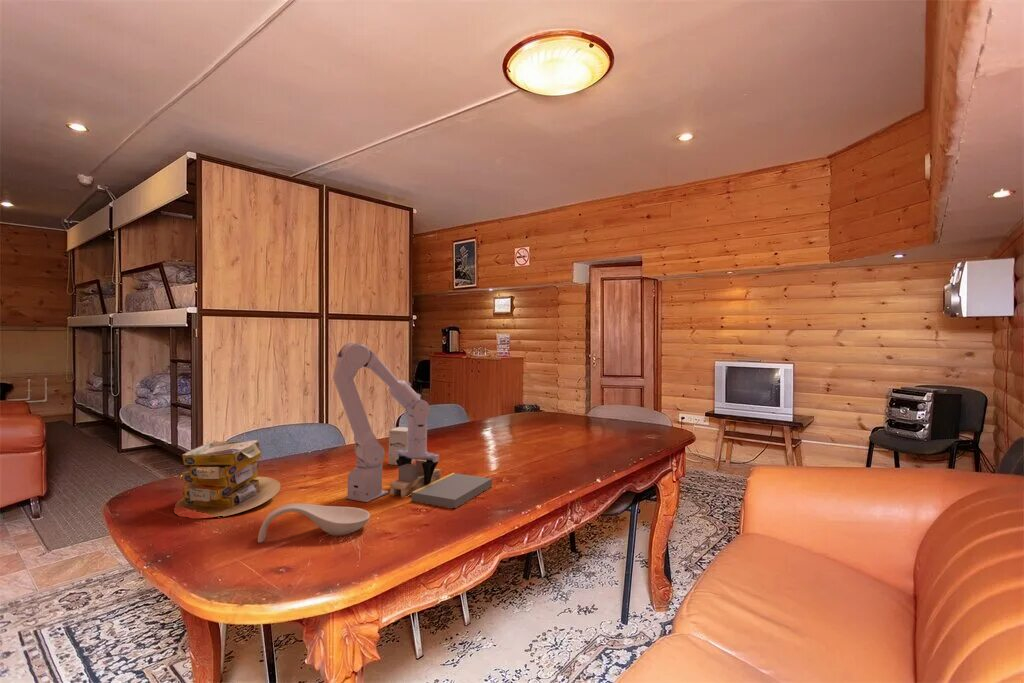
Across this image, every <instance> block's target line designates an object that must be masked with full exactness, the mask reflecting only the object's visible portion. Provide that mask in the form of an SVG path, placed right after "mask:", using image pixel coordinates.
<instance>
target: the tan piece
mask: <svg viewBox="0 0 1024 683" xmlns="http://www.w3.org/2000/svg"><path fill="white" fill-rule="evenodd" d="M441 478H442V469H440V468H435V469H434V472H433V475H432V478H431V482H430V483H432V482H434V481H436V480H439V479H441ZM424 486H425V485H424V474H418V479H416V480H414V481H411V482H406V481H399V479H397V480H395V481H392V482H390V483H389V487H390V488H389V496H390V495H393V496H392V497H395V496H397V495H399V494H398V493H400V492H401V493H400V498H401V497H406V496H408V495H410V494H411V492H413V491H415V490H417V489H419V488H422V487H424ZM396 494H397V495H396ZM394 495H395V496H394ZM410 496H411V495H410ZM408 497H409V496H408ZM406 498H407V497H406Z"/></svg>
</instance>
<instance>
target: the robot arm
mask: <svg viewBox="0 0 1024 683" xmlns="http://www.w3.org/2000/svg"><path fill="white" fill-rule="evenodd" d="M362 368H366V369H369V370H371V371H372V372H373V373H374V374H375V375H376V376H377V377H378V378H379V379H380V380H382V381H383V382H384V383H385V385H387V386H388V387H389V394H390V396H392V398H393V399H394V400H395V401H396V402H398V404H399V405H401V406H402V408H403V409H404V412H405V413H406V414H407V415H408V416H407V419H408V420H407V428H408V450H398V451H396V457H399V458H398V459H397V460H396V463H397V464H398V465H397V466H398V467H399V466H402V465H405V464H411V461H412V459H415V460H426V462H424V463H422V466H423V471H424V485H425V486H426V485H428V484H430V482H431V478H432V475H433V472H434V469H436V467H437V465H438V463H439V461H440V454H436V453H432V452H429V451H428V448H427V445H428V444H427V443H428V417H429V416H430V414H431V408H430V404H429V403H428V402H427V401H426V400H424V399H421V397H422V395H421V394H420V393H417V392H416V391H415V390H414V389H413V388H412V387H411V386H412V383H410V381H406V380H405V379H404V380H403V379H400V380H399V379H398V378H397V376H395V375H394V373H393V372H392V371H391V370H390V369H389V367H387V365H386V364H385V363H384V362H383V361H382V359H380V358H379V357H378V355H377V354H376V353H375V352H374V351H372V350H370V349H369V347H368V346H367V345H366V344H364V343H361V342H358V343H353V342H348V343H346V344H344V345H343V346H342V347H341V348H340V350H339V351H338V352H337V354H336V361H335V366H334V370H333V376H332V377H333V379H332V380H333V382H334V385H335V388H336V390H337V393H338V396H339V398H340V400H341V404H342V406H343V409H344V411H345V414H346V417H347V420H348V423H349V424H350V428H351V430H352V434H353V441H354V445H355V446H354V454H355V456H356V457H357V458H358V459H357V461H356V463H355V467H354V468H353V469H352V470H350V471H349V472H348V476H347V495H345V497H344V498H345V499H347V500H353V501H358V502H364V503H369V502H371V501H374V500H375V499H378V498H380V497H382V496H384V495H387V494H389V493H390V490H389V491H388V490H383V461H384V459H385V456H386V452H385V448H384V447H383V445H381V444H380V442H379V441H378V439H377V437H376V434H374V432H373V430H372V427H371V425H370V421H369V419H368V416H367V414H366V411H365V408H364V406H363V402H362V400H361V397H360V395H359V392H358V389H357V387H356V383H355V377H356V375H357V373H358V372H359V370H361V369H362Z"/></svg>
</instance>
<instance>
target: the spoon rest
mask: <svg viewBox="0 0 1024 683" xmlns="http://www.w3.org/2000/svg"><path fill="white" fill-rule="evenodd" d="M292 512H293V513H298V514H302V515H304V516H306V517H307V518H308V519H309V520H310V521H312V522H313V523H314V524H315V525H316V526H317V527H318V528H320V529H321V530H322V531H323V532H326V533H327V534H328V535H330V536H337V537H338V536H345V535H346V536H347V535H350V534H352V533H354V532H357V531H359V530H360V529H361V528H363V527H364V526H365V525H366V524H367V522H368V521H369V519H370V518H371V514H370V512H369V511H367V510H366V509H363V508H359V507H355V506H354V507H353V506H352V507H351V506H333V505H320V504H312V503H298V502H297V503H295V502H294V503H287V504H284V505H281V506H279V507H276V508H275V509H273V510H272V511H270V512H269V513H268V515H267V516H266V517H265V518H264V519H263V522H262V524H261V526H260V529H259V532H258V535H257V536H258V537H257V543H258V544H261V543H263V542H264V541H265V538H266V536H267V531H268V527H269V525H270V524H271V522H272V521H273V520H274V519H275V518H277V517H279V516H281V515H282V514H286V513H292Z"/></svg>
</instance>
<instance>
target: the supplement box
mask: <svg viewBox="0 0 1024 683" xmlns="http://www.w3.org/2000/svg"><path fill="white" fill-rule="evenodd" d="M388 431H389V433H388V435H389V436H388V465H389V464H390V465H391V466H392V465H395V466H398V464H397V463H396V460H397V459H398V458H399V457H396V451H398V450H408V427H402V426H397V427H394V428H390V429H389V430H388ZM413 462H414V463H416V459H412V461H411V463H412V464H414V463H413Z"/></svg>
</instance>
